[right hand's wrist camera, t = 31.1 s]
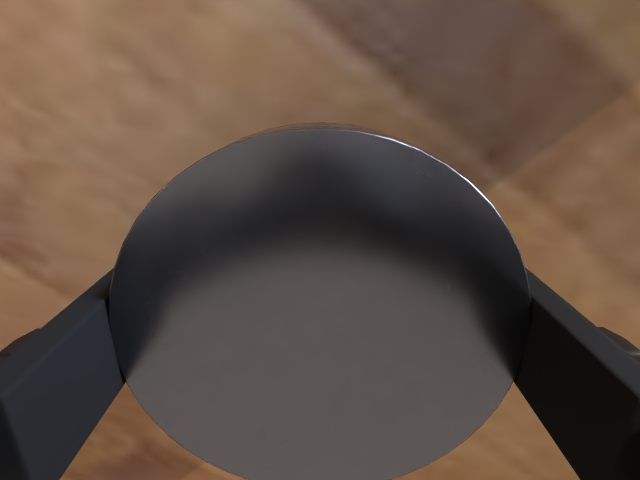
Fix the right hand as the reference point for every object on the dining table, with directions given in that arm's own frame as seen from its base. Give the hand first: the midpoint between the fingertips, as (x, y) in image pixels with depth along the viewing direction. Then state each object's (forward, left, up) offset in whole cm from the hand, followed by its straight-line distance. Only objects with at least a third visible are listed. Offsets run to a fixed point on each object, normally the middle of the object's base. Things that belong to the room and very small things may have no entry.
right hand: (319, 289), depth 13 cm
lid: (0, 0, +3) cm, 3 cm away
